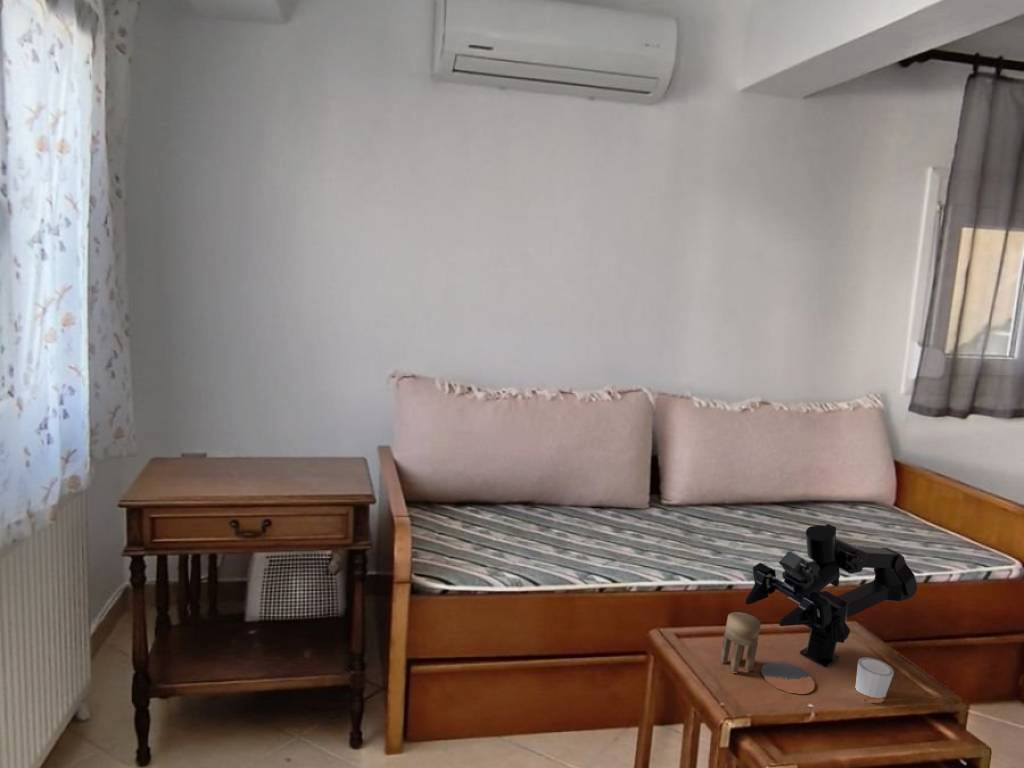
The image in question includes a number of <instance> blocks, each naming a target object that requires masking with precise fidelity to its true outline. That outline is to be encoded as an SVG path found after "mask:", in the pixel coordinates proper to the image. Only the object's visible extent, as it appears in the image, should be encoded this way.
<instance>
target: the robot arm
mask: <svg viewBox="0 0 1024 768" xmlns="http://www.w3.org/2000/svg"><path fill="white" fill-rule="evenodd" d="M805 541H806V553H807V557H809V559H810V560H812V561H808V560H806V559H805V558H803V557H801V556H799V555H797V554H795V553H794V552H792V551H788V552H787V553H785V555H784V556H783V557H782V558H781V560H779V562H778V563H779V564H780V565H781V566H782V569H783V570H784V571H783V572H782V573H781V574H782V578H783V579H784V580H781V579H779V578H778V577H777V575H776V570H775V569H773V568H772V567H770V566H768V565H766V564H765V563H762V562H759V563H757V564H755V565H754V566H752V572H753V580H754V585H753V587H752V588H751V590H750V592H749V593H748V595H747V597H746V598H745V600H744V601H745V602H744V603H745V605H746V606H748V605H752V604H754V603H757V602H760V601H762V600H764V599H767V598H768V597H769V595H772V594H773V593H775V592H776V591H778V592H780V593H782V594H783V595H785V597H787V598H788V599H789V600H791V601H793V602H795V603H796V604H798V606H797V607H796V608H794V609H792V610H791V611H790V612H788V613H787V614H786V615H784V616H783V617H782V618H781V619H780V620H779V621H778V625H779V626H780V627H788V626H806V627H807V628H809V629H810V633H809V637H808V642H807V646H806V647H804V648H803V649H801V650H799V654H800V655H802V656H804V657H806V658H807V659H810V660H811V661H813V662H816V663H818V664H819V665H821V666H823V667H825V668H827V667H828V666H830V665H832V664H833V663H835V662H837V661H839V660H840V655H838V654H835V652H836V648H837V647H836V646H837V644H838V643H840V644H843V643H845V640H847V639H848V637H849V635H850V633H851V629H850V628H849V625H847V623H846V622H847V619H848V618H850V617H852V616H854V615H857V614H859V613H860V612H863V611H865V610H868V609H869V608H872V607H874V606H877V605H878V604H880V603H882V602H885V601H892V602H904V601H908V600H910V599H911V598H913V597H914V596H915V594H916V593H917V590H918V584H917V581H916V575H915V574H914V572H913V571H912V570H911V568H910V567H909V566H908V565H907V561H906V558H905V556H903V555H902V553H899V552H897V551H896V550H893V549H891V548H888V547H883V546H882V547H869V546H867V547H866V546H856V545H853V544H851V543H849V542H846V541H844V540H841V539H839V538H837V527H835V526H834V525H831V524H830V523H826V525H818V524H817V525H813V526H812V525H810V526H809V527H808V528H806V529H805ZM864 568H867V569H873V572H874V579H873V580H871V581H870V582H867V583H864V584H862V585H859V586H857V587H855V588H853V589H851V590H849V591H847V592H844V593H841V594H839V595H837V596H836V595H834V594H832V593H831V592H829V591H827V590H823V589H824V588H826V587H827V586H828V585H830V584H831V585H832V586H834V587H836V588H837V587H839V585H840V578H841V575H840V573H841V572H840V570H842V571H844V572H846V573H848V574H850V575H853V574H858V573H861V572H863V570H864ZM821 590H822V591H821Z"/></svg>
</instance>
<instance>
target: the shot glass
mask: <svg viewBox="0 0 1024 768" xmlns="http://www.w3.org/2000/svg"><path fill="white" fill-rule="evenodd" d="M857 661H858V662H857V667H856V669H857V670H856V681H855V688H856V690H857V691H858V692H860V693H862V694H864V695H867V696H870V697H873V698H874V697H875V698H882V697H885V698H886V696H887V694H888V690H889V688H890V685H891V682H892V680H893V677H894V674H895V673H894V669H893V668H892V667H891V665H888V664H887V663H886V662H885V661H882V660H880V659H876V658H873V657H867V656H866V657H861V658H859V659H858V660H857ZM855 688H854V689H855Z"/></svg>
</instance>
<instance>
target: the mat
mask: <svg viewBox="0 0 1024 768" xmlns="http://www.w3.org/2000/svg"><path fill="white" fill-rule="evenodd" d="M761 672H762V674H763V676H766V677H767V678H768V677H774V678H775V677H776V678H779V677H780V678H781V677H782V678H783V679H785V678H787V679H788V680H789V679H793V678H794V679H800V678H802V677H804V678H806V677H808V676H809V677H810V676H811V674H809V672H807V671H806V670H804V669H802V668H800V667H798V666H796V665H794V664H790V663H786V662H781V661H779V662H778V661H772V662H767V663H765V664H764V665H762V667H761V671H760V673H761ZM762 674H761V675H762ZM805 676H806V677H805ZM782 678H781V679H782ZM802 679H803V678H802Z"/></svg>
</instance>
